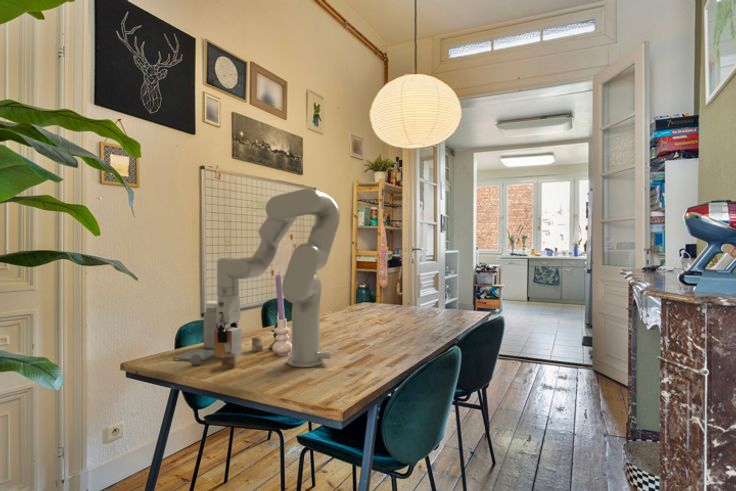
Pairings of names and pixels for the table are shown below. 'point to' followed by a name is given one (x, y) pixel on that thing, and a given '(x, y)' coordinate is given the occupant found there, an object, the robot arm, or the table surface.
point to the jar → (210, 324)
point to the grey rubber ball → (195, 359)
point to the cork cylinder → (257, 344)
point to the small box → (228, 343)
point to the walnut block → (228, 361)
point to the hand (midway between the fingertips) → (227, 339)
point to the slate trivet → (203, 353)
